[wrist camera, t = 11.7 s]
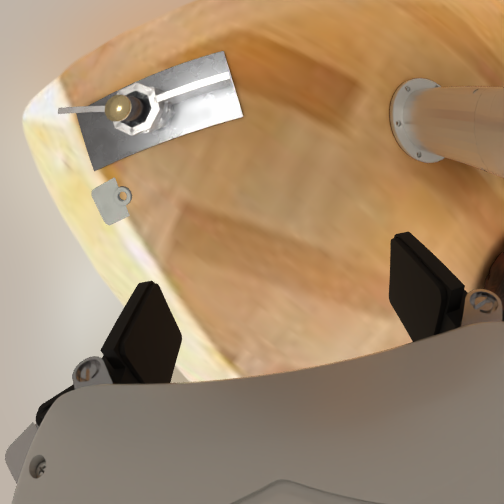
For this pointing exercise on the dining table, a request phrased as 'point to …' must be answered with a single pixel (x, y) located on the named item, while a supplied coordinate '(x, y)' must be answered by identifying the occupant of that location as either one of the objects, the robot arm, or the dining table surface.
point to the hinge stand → (178, 114)
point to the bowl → (497, 278)
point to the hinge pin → (127, 108)
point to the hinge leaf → (102, 109)
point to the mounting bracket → (111, 201)
